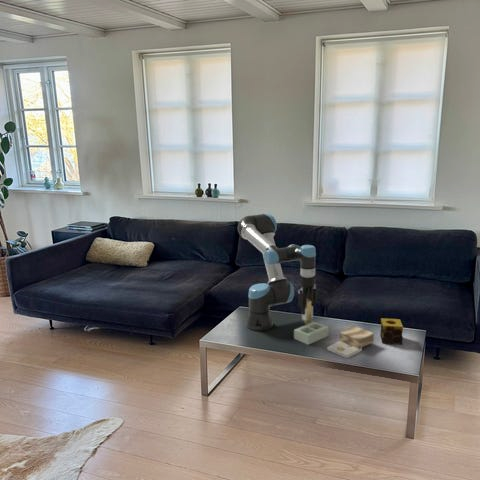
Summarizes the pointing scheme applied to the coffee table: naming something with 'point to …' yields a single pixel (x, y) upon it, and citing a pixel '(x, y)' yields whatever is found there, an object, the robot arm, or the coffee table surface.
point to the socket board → (311, 333)
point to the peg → (308, 312)
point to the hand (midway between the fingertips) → (307, 318)
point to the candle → (391, 331)
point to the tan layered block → (356, 337)
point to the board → (343, 349)
